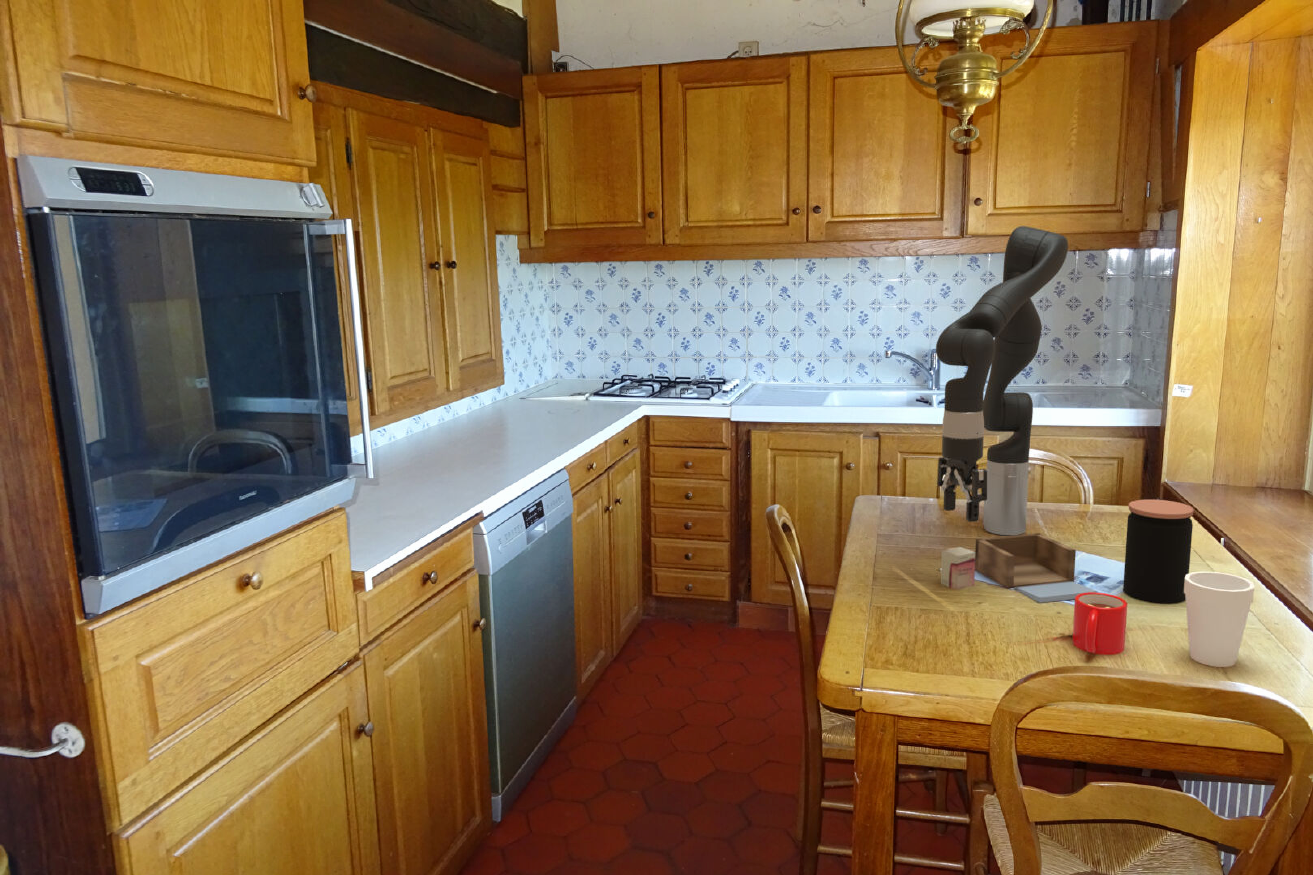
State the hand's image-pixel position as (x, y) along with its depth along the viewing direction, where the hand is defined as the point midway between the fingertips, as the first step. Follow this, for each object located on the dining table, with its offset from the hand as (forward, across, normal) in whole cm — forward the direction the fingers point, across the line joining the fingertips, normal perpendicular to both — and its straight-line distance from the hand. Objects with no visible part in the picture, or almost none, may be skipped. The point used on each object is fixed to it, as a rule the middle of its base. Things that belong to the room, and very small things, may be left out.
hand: (960, 515), depth 178 cm
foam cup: (+15, -40, -22) cm, 48 cm away
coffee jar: (+15, -15, -32) cm, 38 cm away
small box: (+15, 0, 0) cm, 15 cm away
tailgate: (+14, -6, -15) cm, 21 cm away
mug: (+15, -32, -7) cm, 36 cm away
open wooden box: (+15, +1, -15) cm, 21 cm away
